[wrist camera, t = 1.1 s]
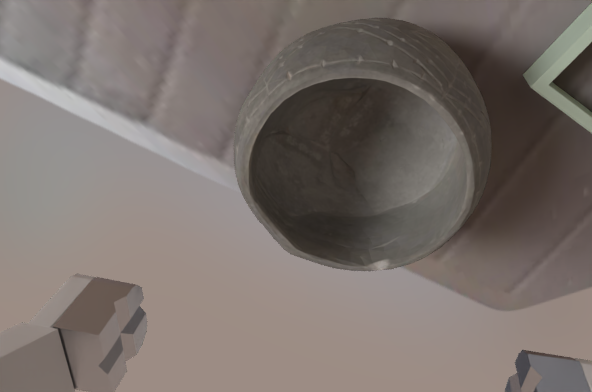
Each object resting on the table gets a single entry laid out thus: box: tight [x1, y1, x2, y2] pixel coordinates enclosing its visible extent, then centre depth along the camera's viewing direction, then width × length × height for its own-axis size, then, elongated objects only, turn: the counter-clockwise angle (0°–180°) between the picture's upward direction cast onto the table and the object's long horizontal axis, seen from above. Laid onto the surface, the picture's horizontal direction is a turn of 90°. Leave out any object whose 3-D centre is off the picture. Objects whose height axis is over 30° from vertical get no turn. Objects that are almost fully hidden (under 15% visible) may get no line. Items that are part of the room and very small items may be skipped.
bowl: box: [234, 18, 492, 271], centre depth 44 cm, size 21×21×15 cm
